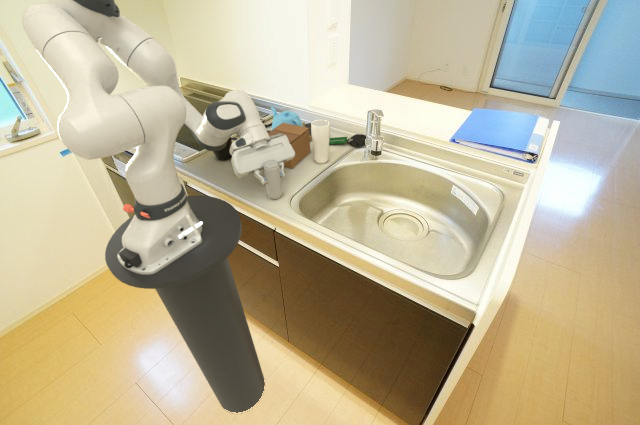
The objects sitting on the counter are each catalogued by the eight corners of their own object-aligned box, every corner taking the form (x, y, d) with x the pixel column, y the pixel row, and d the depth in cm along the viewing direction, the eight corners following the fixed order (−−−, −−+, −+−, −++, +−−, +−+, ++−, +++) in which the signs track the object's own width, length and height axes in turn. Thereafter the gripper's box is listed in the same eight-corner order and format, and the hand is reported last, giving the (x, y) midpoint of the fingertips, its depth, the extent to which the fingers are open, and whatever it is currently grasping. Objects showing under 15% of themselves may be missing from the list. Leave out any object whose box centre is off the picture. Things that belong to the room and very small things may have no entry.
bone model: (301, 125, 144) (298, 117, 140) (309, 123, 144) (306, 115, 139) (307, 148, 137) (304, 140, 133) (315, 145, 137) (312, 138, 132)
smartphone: (329, 136, 136) (318, 123, 148) (329, 134, 136) (318, 121, 147) (313, 139, 135) (303, 125, 146) (312, 137, 134) (303, 124, 145)
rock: (358, 140, 135) (360, 151, 134) (345, 140, 131) (347, 151, 130) (371, 131, 127) (374, 143, 126) (358, 130, 123) (360, 142, 123)
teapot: (281, 101, 140) (309, 111, 130) (283, 124, 147) (310, 135, 137) (258, 109, 133) (287, 121, 123) (262, 133, 140) (289, 145, 130)
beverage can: (285, 196, 103) (281, 164, 95) (272, 201, 101) (267, 169, 93) (278, 189, 106) (274, 158, 98) (265, 194, 104) (260, 162, 96)
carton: (292, 168, 116) (289, 143, 110) (265, 161, 121) (261, 136, 114) (310, 152, 126) (309, 127, 120) (285, 146, 130) (282, 122, 124)
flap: (289, 144, 110) (289, 143, 110) (262, 137, 115) (262, 136, 114) (299, 136, 115) (299, 135, 115) (272, 130, 120) (272, 129, 119)
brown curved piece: (259, 137, 144) (279, 140, 142) (256, 128, 139) (277, 131, 137) (269, 117, 151) (288, 120, 149) (266, 108, 146) (286, 111, 144)
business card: (346, 143, 128) (347, 137, 132) (345, 142, 128) (347, 136, 132) (325, 144, 131) (327, 138, 134) (325, 144, 131) (327, 138, 134)
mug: (236, 165, 119) (231, 142, 113) (209, 160, 123) (203, 137, 117) (247, 155, 125) (242, 132, 119) (221, 150, 128) (216, 128, 122)
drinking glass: (309, 163, 119) (307, 125, 110) (316, 155, 124) (315, 118, 115) (326, 166, 117) (326, 128, 108) (332, 157, 122) (332, 120, 113)
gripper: (282, 135, 106) (298, 172, 106) (224, 153, 98) (242, 193, 98) (287, 127, 101) (305, 166, 101) (226, 145, 92) (245, 188, 92)
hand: (273, 180), depth 99 cm, fingers closed on beverage can, 5 cm apart
